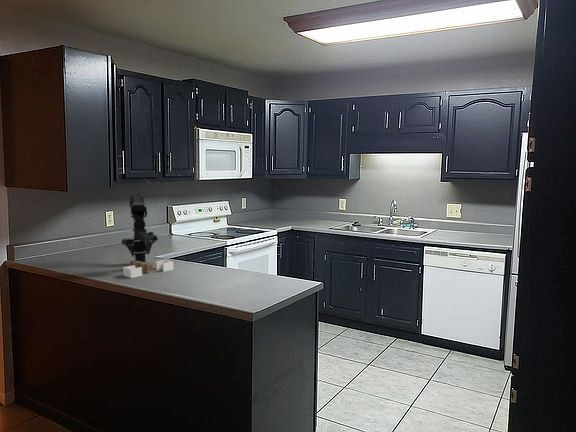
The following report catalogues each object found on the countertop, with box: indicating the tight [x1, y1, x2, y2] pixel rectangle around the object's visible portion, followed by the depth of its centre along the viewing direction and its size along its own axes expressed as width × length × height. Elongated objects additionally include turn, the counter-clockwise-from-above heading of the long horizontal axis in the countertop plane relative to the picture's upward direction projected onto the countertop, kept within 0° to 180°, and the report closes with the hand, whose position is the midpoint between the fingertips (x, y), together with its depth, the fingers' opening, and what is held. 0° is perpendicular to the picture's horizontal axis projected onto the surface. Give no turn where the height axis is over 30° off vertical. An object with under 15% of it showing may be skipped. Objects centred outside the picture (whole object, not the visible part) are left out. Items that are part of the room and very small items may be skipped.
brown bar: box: [129, 259, 154, 274], centre depth 255 cm, size 16×4×5 cm, turn 52°
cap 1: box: [122, 265, 143, 279], centre depth 244 cm, size 8×6×4 cm
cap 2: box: [155, 259, 174, 272], centre depth 258 cm, size 8×6×4 cm
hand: (140, 255), depth 255 cm, fingers open, 9 cm apart
